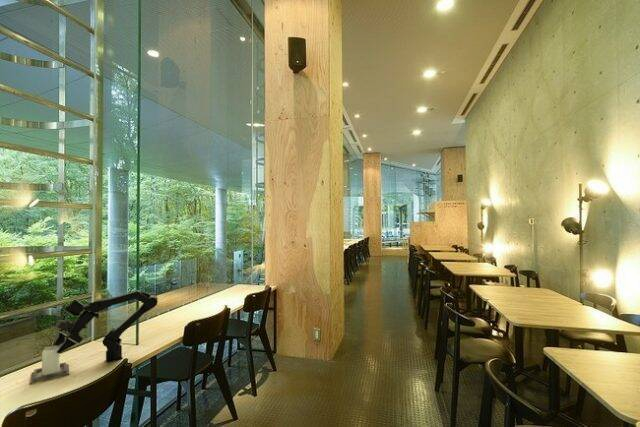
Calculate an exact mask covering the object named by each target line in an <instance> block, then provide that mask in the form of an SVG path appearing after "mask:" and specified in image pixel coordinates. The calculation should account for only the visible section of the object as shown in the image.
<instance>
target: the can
mask: <svg viewBox="0 0 640 427" xmlns="http://www.w3.org/2000/svg"><path fill="white" fill-rule="evenodd" d="M59 348H60V346H57V345H55V346H53V345H51V346H46V347H45V348H43V350H42V353H41V368H42V375H47V374H52V373H56V372H59V370H60V364H61V363H60V360H61V359H60V353H61V352H60V353H57V351H58V349H59Z"/></svg>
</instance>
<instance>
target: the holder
mask: <svg viewBox="0 0 640 427" xmlns="http://www.w3.org/2000/svg"><path fill="white" fill-rule="evenodd" d="M67 376H70V365H69V363H67V362H61V363H60V370H59V372H56V373H52V374H47V375H42V367H39V368H35V369H34V370H33V371H32V372H31V375H30V380H29V386H31V385H34V384H39V383H43V382H47V381H51V380H55V379H60V378H62V377H67Z"/></svg>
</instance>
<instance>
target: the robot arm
mask: <svg viewBox="0 0 640 427" xmlns="http://www.w3.org/2000/svg"><path fill="white" fill-rule="evenodd" d="M132 300H137V301H139V302H140V303H142V304H141V305H140V306H139V308H137V309H136V310H135V311H133V313H132V314H131V315H130V316H129V317H127V318H126V319H125V320H124V321H123V322H122V323H121V324H119V326H117V327H115V328H114V327H113V326H112V327H111V328H110V329H109V331H107V332H106V333H105V334H104V336H103V339H102V345H103V346H104V347H105V348H106V350H105V360H106V361H107V362H108V363H110V362H115V361H119V360H122V359H123V356H122V355H123V350H122V349H123V348H122V341H123V340H122V338H120V337H121V336H122V334H123V333H124V332H125V331H126V330H128V329H129V328H130V327H131V326H132V325H133V324H134V323H135V322H137V321H138V320H139V318H141V317H142V316H143V315H144V314H145V313H147V312H149V311H151V310H152V309H154V308H156V306H157V305H158V301H159V298H158V296H156V295H154V294H149V293H146V292H143V291H141V290H139V289H136V290H135V291H131V292H127V293H124V294H119V295H116V296H113V297H104V298H98V299H95V300H93V301H92V302H89V303H86V304H84V303H82V302H81V301H80V300H78V299H77V298H75V299H74V300H73V301H72V302H71V303H70V304H68V305H67V306H66V307H65V308H64V310H63V311H64V312H66V313H68V314H69V315H70V316H72V317H77V316H78V317H77V318H76V319H73V320H66V319H65V320H63V319H59V320H58V321H57V323H56V325H55V327H56V328H57V337H56V339H55V341H54V343H53V344H52V346H55V345H57V346H58V347H59V349H58V351H57V353H62V352H64V351H66V350H68V349H70V348H72V347H74V346H75V345H76V346H77V345H78V344H81V342H83V337H82V336H81V335H80V333H81V332H82V331H83V330H84V329H85V330H86V329H87V328H88V327H87V326H88V325H89V324H90V323H91V321H93V319H94V318H96V319H99V318H100V317H99V316H100V313H99V312H102V311H104V310H106V309H108V308H110V307H112V306H115V305H119V304H122V303H125V302H129V301H132Z"/></svg>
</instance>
